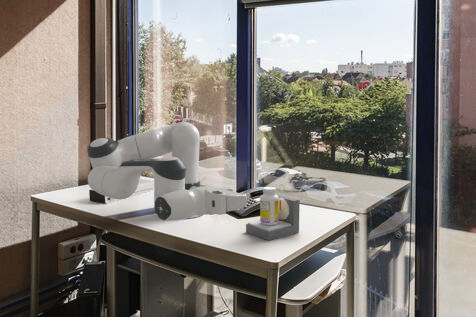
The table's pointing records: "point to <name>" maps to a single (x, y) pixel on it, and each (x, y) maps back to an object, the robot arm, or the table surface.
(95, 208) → the table surface
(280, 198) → the dial scale
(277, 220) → the supplement bottle
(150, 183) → the laminator
